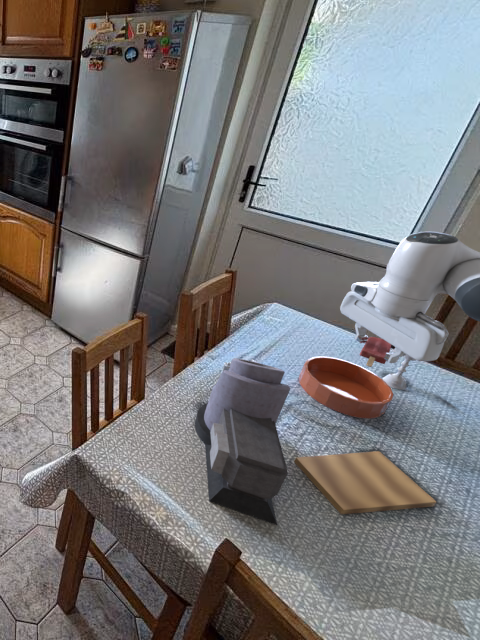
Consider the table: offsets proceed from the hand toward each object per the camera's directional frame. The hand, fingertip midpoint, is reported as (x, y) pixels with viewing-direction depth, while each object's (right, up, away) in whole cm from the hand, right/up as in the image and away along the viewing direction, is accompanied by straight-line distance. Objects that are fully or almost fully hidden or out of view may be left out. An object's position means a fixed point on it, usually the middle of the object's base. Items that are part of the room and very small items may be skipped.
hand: (374, 350), depth 98 cm
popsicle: (+1, -2, +1) cm, 2 cm away
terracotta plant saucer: (+4, -15, +14) cm, 20 cm away
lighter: (-21, -13, +19) cm, 31 cm away
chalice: (+22, -13, +17) cm, 31 cm away
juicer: (-36, -23, -3) cm, 43 cm away
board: (-13, -26, -10) cm, 31 cm away
